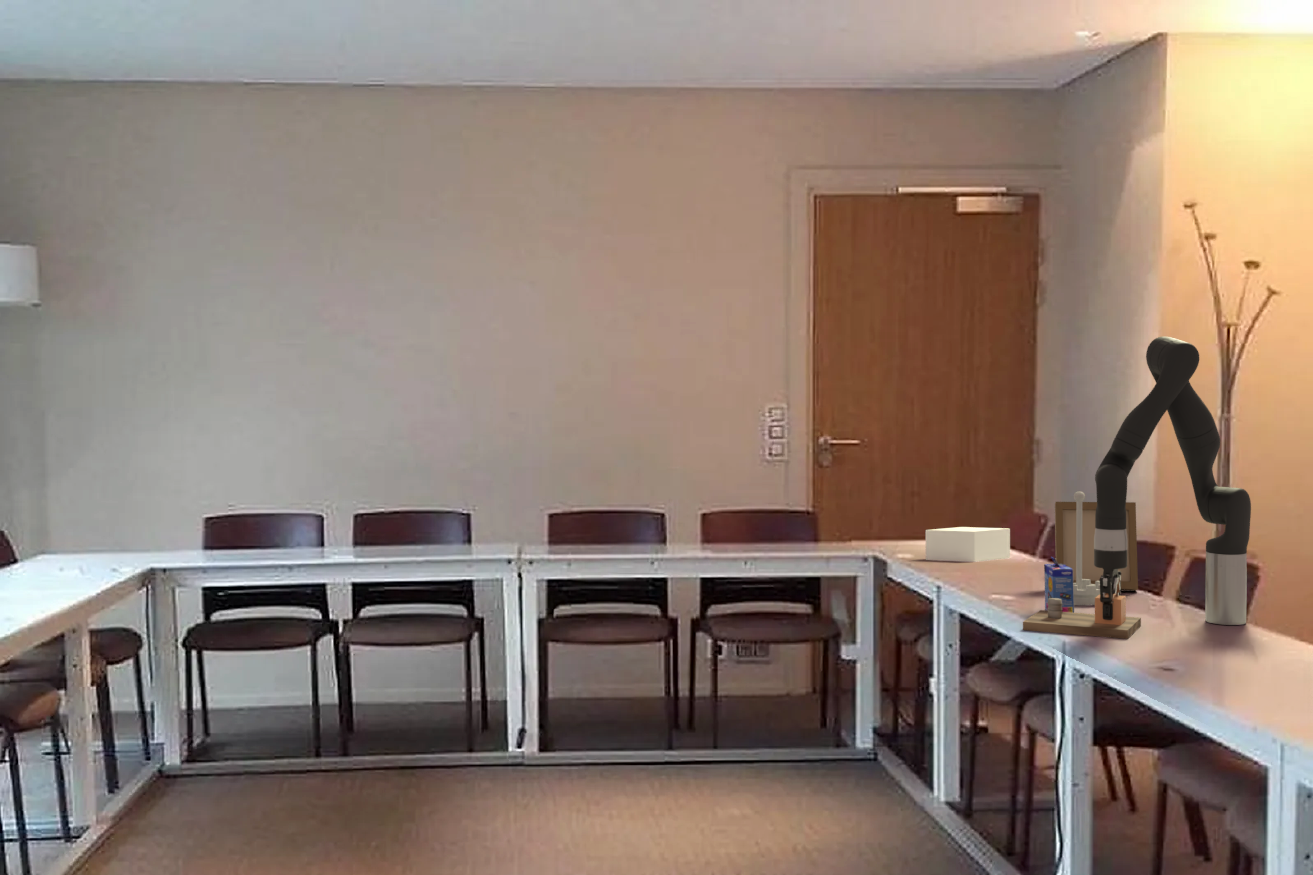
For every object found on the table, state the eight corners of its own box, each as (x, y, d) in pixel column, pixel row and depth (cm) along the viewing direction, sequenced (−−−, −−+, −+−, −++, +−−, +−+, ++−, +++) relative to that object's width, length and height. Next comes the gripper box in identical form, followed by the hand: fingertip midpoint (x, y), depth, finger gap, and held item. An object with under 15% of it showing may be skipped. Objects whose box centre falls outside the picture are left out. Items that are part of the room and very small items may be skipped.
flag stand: (1107, 606, 343) (1108, 493, 342) (1056, 605, 345) (1056, 493, 344) (1101, 598, 356) (1101, 489, 354) (1051, 597, 358) (1052, 489, 357)
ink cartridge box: (1043, 609, 339) (1043, 554, 338) (1064, 610, 338) (1064, 554, 338) (1052, 616, 329) (1052, 559, 328) (1074, 616, 328) (1075, 559, 328)
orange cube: (1099, 618, 314) (1099, 594, 314) (1125, 620, 311) (1125, 596, 311) (1094, 622, 309) (1094, 597, 309) (1121, 625, 306) (1121, 599, 306)
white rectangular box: (919, 557, 444) (919, 527, 443) (1002, 555, 446) (1002, 526, 445) (931, 563, 429) (931, 532, 429) (1017, 561, 431) (1017, 530, 431)
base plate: (1040, 617, 327) (1040, 592, 327) (1140, 625, 315) (1141, 599, 315) (1022, 630, 311) (1022, 603, 311) (1127, 638, 299) (1127, 610, 299)
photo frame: (1137, 592, 364) (1138, 503, 363) (1056, 590, 369) (1056, 503, 368) (1131, 585, 378) (1131, 500, 377) (1053, 583, 383) (1053, 499, 383)
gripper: (1121, 551, 301) (1121, 623, 302) (1132, 544, 314) (1132, 614, 314) (1088, 550, 305) (1088, 621, 306) (1100, 543, 317) (1100, 611, 318)
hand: (1110, 617), depth 310 cm, fingers closed on orange cube, 6 cm apart
